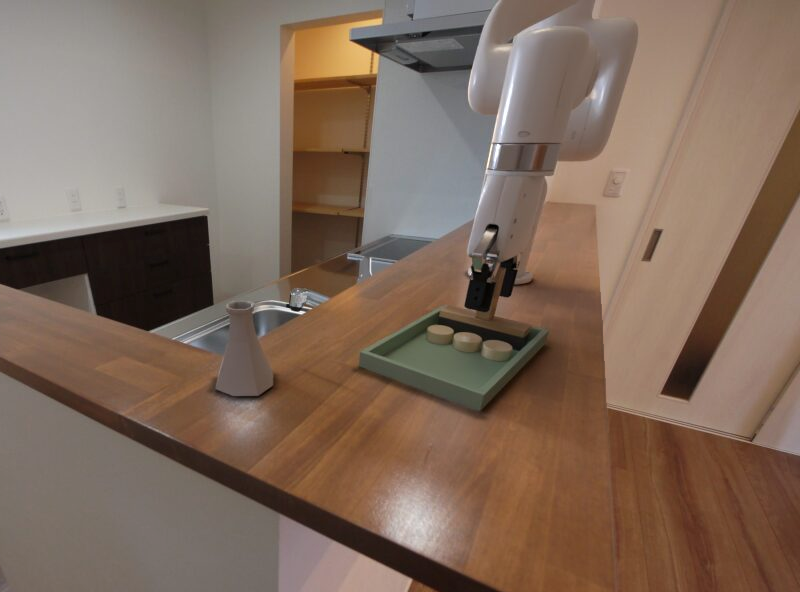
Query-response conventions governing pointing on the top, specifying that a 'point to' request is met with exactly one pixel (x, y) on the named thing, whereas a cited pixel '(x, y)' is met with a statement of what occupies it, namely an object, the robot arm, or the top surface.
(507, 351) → the crumb
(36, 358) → the top surface
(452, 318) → the brush
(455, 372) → the tray
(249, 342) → the flask
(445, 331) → the crumb
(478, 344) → the crumb
